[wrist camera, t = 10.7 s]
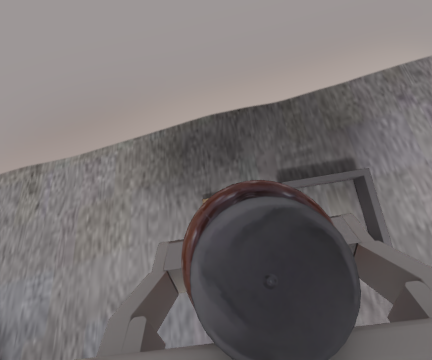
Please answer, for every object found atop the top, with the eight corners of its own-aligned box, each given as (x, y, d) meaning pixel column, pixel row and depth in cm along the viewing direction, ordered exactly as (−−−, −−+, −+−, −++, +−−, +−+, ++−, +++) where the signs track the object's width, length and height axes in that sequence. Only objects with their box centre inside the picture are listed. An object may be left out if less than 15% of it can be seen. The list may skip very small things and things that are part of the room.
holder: (358, 172, 29) (368, 167, 27) (381, 253, 27) (395, 257, 25) (278, 185, 30) (282, 182, 28) (296, 265, 28) (301, 270, 26)
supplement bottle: (267, 300, 15) (337, 515, 4) (195, 254, 16) (99, 327, 5) (306, 224, 16) (458, 236, 5) (234, 185, 17) (221, 120, 6)
